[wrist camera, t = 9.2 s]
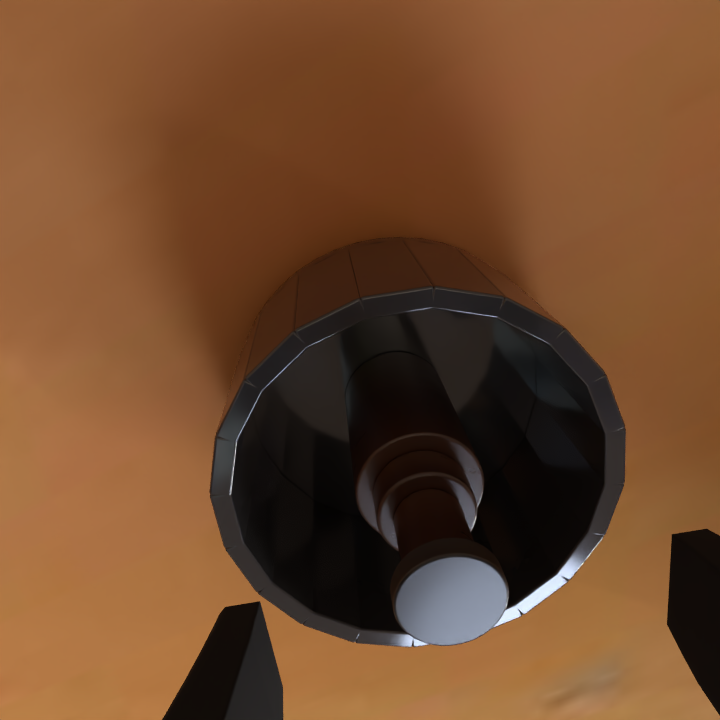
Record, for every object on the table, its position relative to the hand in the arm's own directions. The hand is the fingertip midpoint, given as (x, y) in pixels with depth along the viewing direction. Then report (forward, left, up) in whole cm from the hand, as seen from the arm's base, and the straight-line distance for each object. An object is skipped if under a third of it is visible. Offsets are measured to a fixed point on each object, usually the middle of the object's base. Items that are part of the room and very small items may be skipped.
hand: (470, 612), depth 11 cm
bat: (0, 0, -9) cm, 9 cm away
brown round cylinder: (0, 0, -9) cm, 9 cm away
